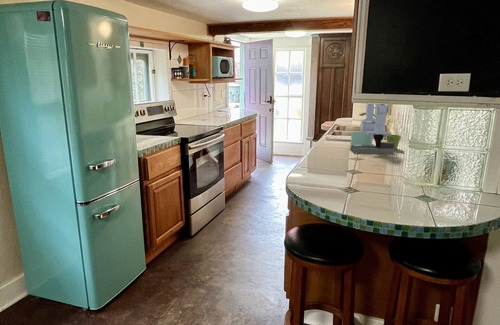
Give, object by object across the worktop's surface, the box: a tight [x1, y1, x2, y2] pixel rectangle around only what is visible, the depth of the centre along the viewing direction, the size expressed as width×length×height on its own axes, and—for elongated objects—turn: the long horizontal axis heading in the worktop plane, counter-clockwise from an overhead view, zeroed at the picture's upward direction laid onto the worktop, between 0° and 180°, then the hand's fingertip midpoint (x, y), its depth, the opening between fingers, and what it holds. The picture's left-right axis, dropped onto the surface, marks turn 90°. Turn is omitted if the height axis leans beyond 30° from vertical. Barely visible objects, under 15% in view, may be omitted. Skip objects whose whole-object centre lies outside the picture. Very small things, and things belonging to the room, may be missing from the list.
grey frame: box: [349, 144, 395, 155], centre depth 213 cm, size 11×24×6 cm, turn 89°
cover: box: [350, 131, 370, 146], centre depth 216 cm, size 8×12×1 cm
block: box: [378, 141, 394, 149], centre depth 212 cm, size 4×8×6 cm, turn 89°
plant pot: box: [385, 133, 402, 150], centre depth 222 cm, size 9×9×9 cm
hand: (377, 146), depth 212 cm, fingers closed
